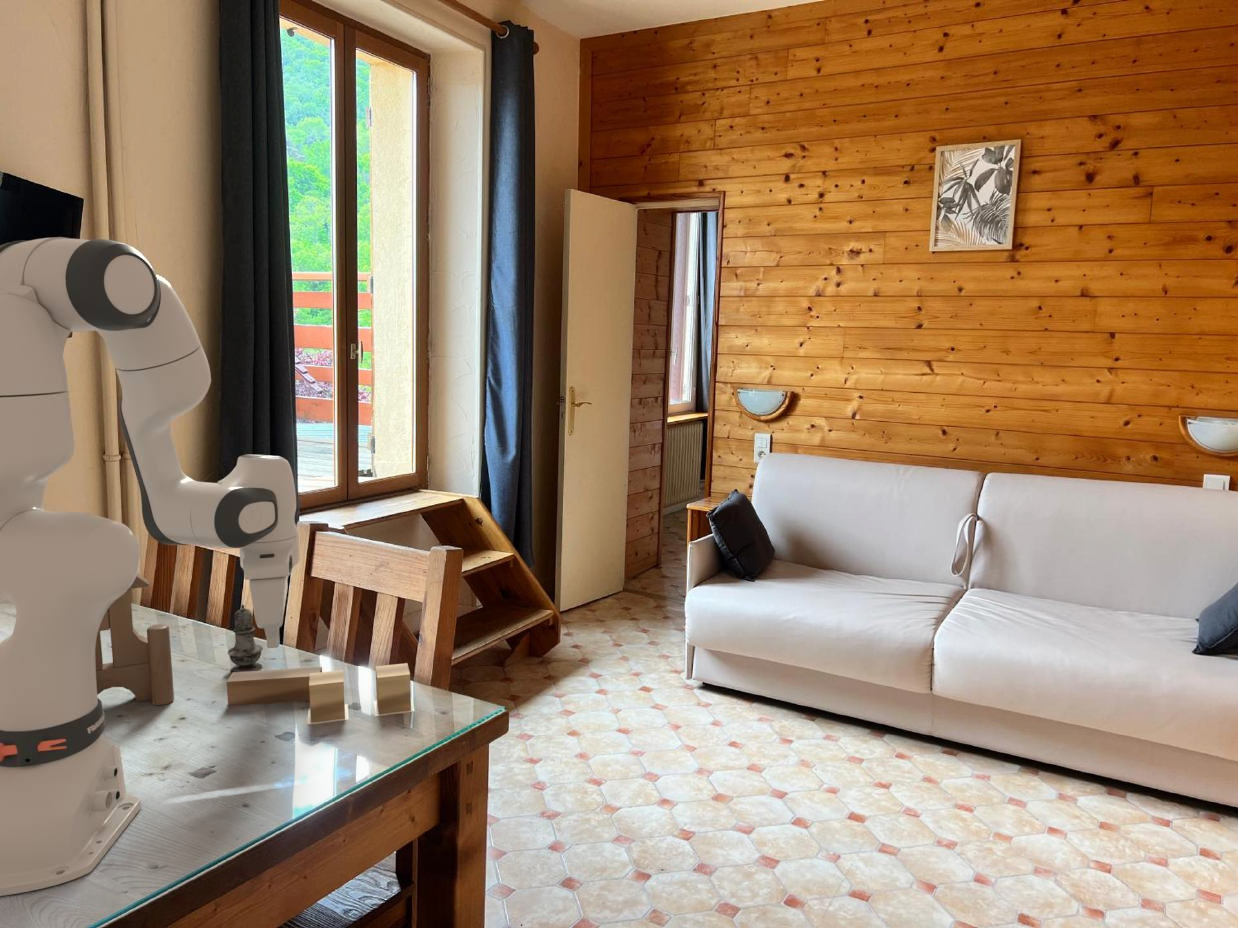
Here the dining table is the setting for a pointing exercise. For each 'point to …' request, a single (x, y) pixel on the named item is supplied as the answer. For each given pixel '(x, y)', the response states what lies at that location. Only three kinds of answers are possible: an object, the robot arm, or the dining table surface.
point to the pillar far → (393, 688)
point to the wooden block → (269, 686)
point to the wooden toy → (135, 654)
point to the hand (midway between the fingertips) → (275, 636)
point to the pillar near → (326, 696)
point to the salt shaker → (245, 644)
